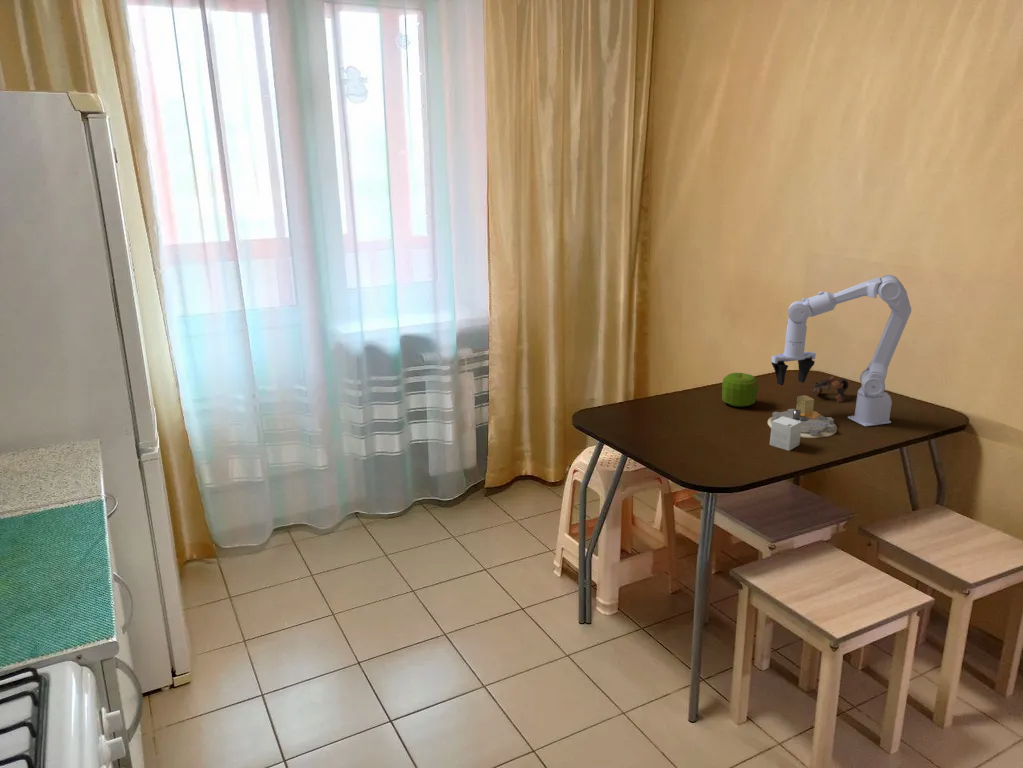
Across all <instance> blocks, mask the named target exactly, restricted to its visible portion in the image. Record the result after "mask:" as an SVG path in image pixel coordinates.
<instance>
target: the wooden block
mask: <svg viewBox="0 0 1023 768" xmlns="http://www.w3.org/2000/svg"><path fill="white" fill-rule="evenodd" d="M796 397H797V398H796V407H795V410H800V411H801V415H803V416H807V415H813V411H814V407H815V406H814V404H815V399H814V398H812V397H810V396H809V395H805V394H804V395H797V396H796Z"/></svg>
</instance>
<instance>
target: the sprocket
mask: <svg viewBox="0 0 1023 768" xmlns="http://www.w3.org/2000/svg"><path fill="white" fill-rule="evenodd" d="M771 414H772V415H771V417H772V418H775V419H772V420H771V424H772V421H774V420H776V419H778V418H780V417H782V416H784V417H787V418H791V419H794V420H798V421H801V422H802V425H801V432H802V433H809V434H810V435H818V433H819V432H823V431H829V432H832V431H833V430H834V425H831V424H833V423H834V420H835V419H833V418H832V417H830V416H829V417H827V416H824V415H821V413H819V412H818V411H815V410H813V415H807V416H803V415H801V411H800V410H796V408H788V409H787V410H785V411H781V412H779V411H773V412H772V413H771Z"/></svg>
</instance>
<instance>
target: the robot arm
mask: <svg viewBox="0 0 1023 768" xmlns="http://www.w3.org/2000/svg"><path fill="white" fill-rule="evenodd" d="M877 295H878V296H879V297H880V299H881V300H882V301H884V302H885V303H886V304H887V305H888V307H889V310H891V311H890V315H889V317H888V319H887V321H886V324H885V327H884V329H883V331H882V334H881V335H880V339H879V342H878V344H877V347H876V349H875V351H874V354H873V355H872V359H871V360H870V362H868V365H867V367H866V368H865V369H864V370H863V371H862V372H861V374H860V376H859V380H860V383H861V387H860V388H859V389H858V390H857V394H856V395H857V396H856V400H855V401H856V403H855V410H854V415H850V416H849V415H848V416H847V419H849V420H851V421H853V422H855V423H857V424H859V425H861V426H864V427H872V426H879V425H884V424H885V425H886V424H891V423H892V421H891V420H890V416H891V409H892V405H893V402H892V398H891V397H892V396H890V394H889V393H888V392H887V391H886V392H885V390H886V378H887V374H888V370H889V366H890V363H891V362H892V358H893V356H894V354H895V351H896V349H897V347H898V344H899V342H900V339H901V337H902V335H903V332H904V330H905V327H906V325H907V323H908V320H909V318H910V316H911V313H912V306H911V303H910V299H909V295H908V292H907V289H905V286H904V285H903V283H902V281H900V280H899V278H898V277H896V276H895V275H892V274H887V275H886V274H885V275H883V276H881V277H874V278H871V279H869V280H865V281H863V282H861V283H860V282H859V283H858V284H855V285H853V286H851V287H848V288H845V289H842V290H840V291H837V292H836V293H835V292H834V293H832V292H829V291H822V290H821V291H819V292H817V294H816V295H813V296H811V297H808V298H806V297H804V298H801V300H796V301H793V302H792V303H791V304H790V305H789V306H788V309H787V314H788V319H787V325H786V332H785V342H784V351H783V353H779V354H776V355H775V354H774V355H772V356H771V361H770V362H771V366H772V367H773V370H774V372H775V377H776V384H778V385H779V386H784V384H785V380H786V379H785V378H786V372H787V370H788V368H789V365H787V364H786V363H787V362H795V361H797V364H798V375H797V376H798V377H797V381H798V382H800V383H802V384H804V383H805V381H806V378H807V377H808V374H809V372H810V370H811V369H812V368H813V366H815V359H816V356H817V355H816V354H817V352H814V351H805V349H806V348H805V347H806V338H807V328H808V327H807V320H808V319H809V317H811V318H813V317H816V316H819V315H823V314H826V313H828V312H831V311H834V309H835V308H836V306H837V305H838V304H842V303H845V302H848V301H853V300H856V299H859V298H862V297H870V298H873V299H877V298H878V297H877ZM785 362H786V363H785Z"/></svg>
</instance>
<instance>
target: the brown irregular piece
mask: <svg viewBox="0 0 1023 768" xmlns="http://www.w3.org/2000/svg"><path fill="white" fill-rule="evenodd" d="M831 385H832V387H833V388H834V389H836V391H837V395H836V396H834V398H835V402H836V403H837V402H838V403H841V402H842V401H844V400H845V399H846V397H845V392H846V391H847V390H848V388H849V385H850V384H849V381H848V380H847V379H846V378H839V379H835V376H829V377H826V378H824V379H822V380H820V381H819V382H815V383H813V384H812V387H813V393H817V394H818V393H820V394H822V393H823V390H826V391H830V390H831V388H830V386H831Z"/></svg>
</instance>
